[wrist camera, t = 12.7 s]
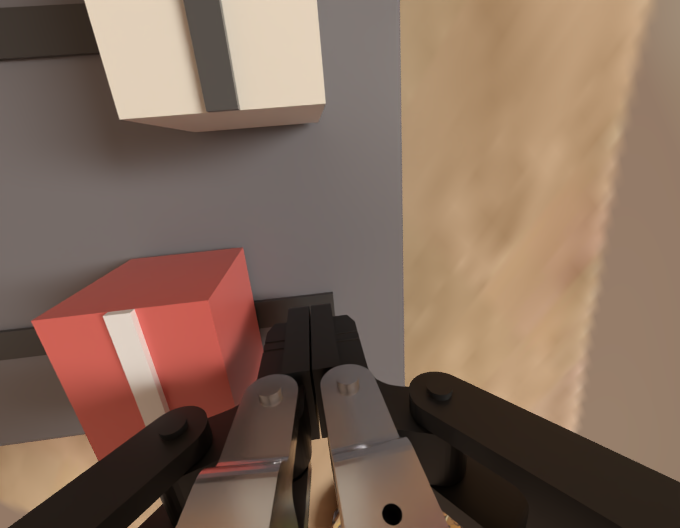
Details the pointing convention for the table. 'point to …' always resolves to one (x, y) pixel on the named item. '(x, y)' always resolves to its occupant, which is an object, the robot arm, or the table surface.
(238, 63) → the block
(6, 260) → the console
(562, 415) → the table surface
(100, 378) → the block
